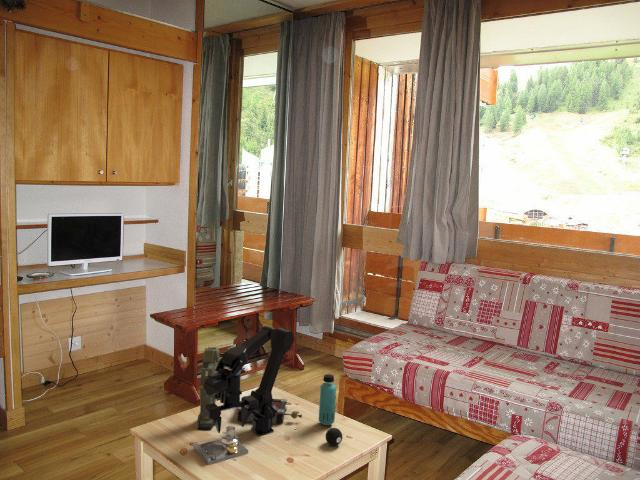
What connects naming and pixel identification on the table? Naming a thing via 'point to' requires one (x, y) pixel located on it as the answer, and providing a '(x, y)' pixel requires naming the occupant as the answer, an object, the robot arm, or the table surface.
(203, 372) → the mechanical leg
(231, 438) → the silver metal knob
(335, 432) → the billiard ball
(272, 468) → the table surface
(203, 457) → the plate
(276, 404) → the machine vise
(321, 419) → the beverage bottle
